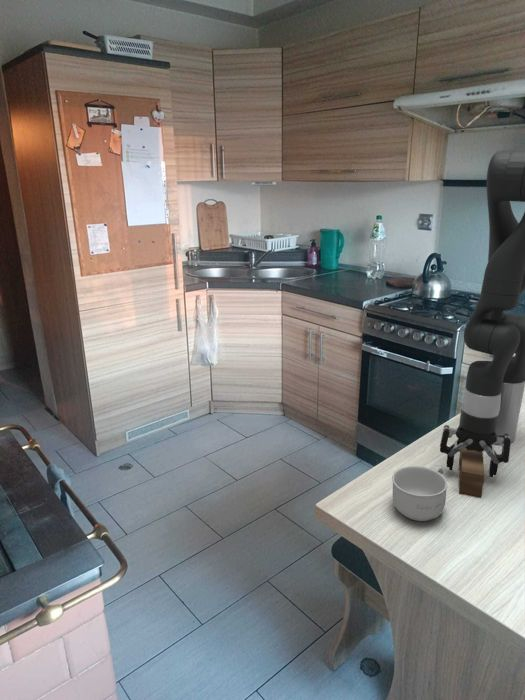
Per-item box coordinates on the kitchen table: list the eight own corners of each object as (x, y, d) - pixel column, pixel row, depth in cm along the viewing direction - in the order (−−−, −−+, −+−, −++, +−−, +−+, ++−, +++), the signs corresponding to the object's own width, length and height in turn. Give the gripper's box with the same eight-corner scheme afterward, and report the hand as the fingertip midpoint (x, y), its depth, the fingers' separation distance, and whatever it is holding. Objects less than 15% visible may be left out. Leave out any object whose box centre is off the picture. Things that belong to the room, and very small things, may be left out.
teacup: (418, 536, 97) (422, 502, 94) (378, 506, 105) (381, 474, 102) (464, 510, 103) (469, 478, 101) (423, 484, 112) (427, 453, 109)
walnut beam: (458, 460, 121) (461, 439, 119) (478, 464, 119) (481, 442, 117) (458, 494, 109) (462, 471, 106) (480, 498, 107) (484, 475, 105)
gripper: (514, 405, 109) (502, 468, 114) (445, 396, 113) (437, 457, 119) (518, 421, 102) (506, 487, 108) (445, 411, 106) (437, 475, 112)
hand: (470, 471), depth 113 cm, fingers open, 8 cm apart
